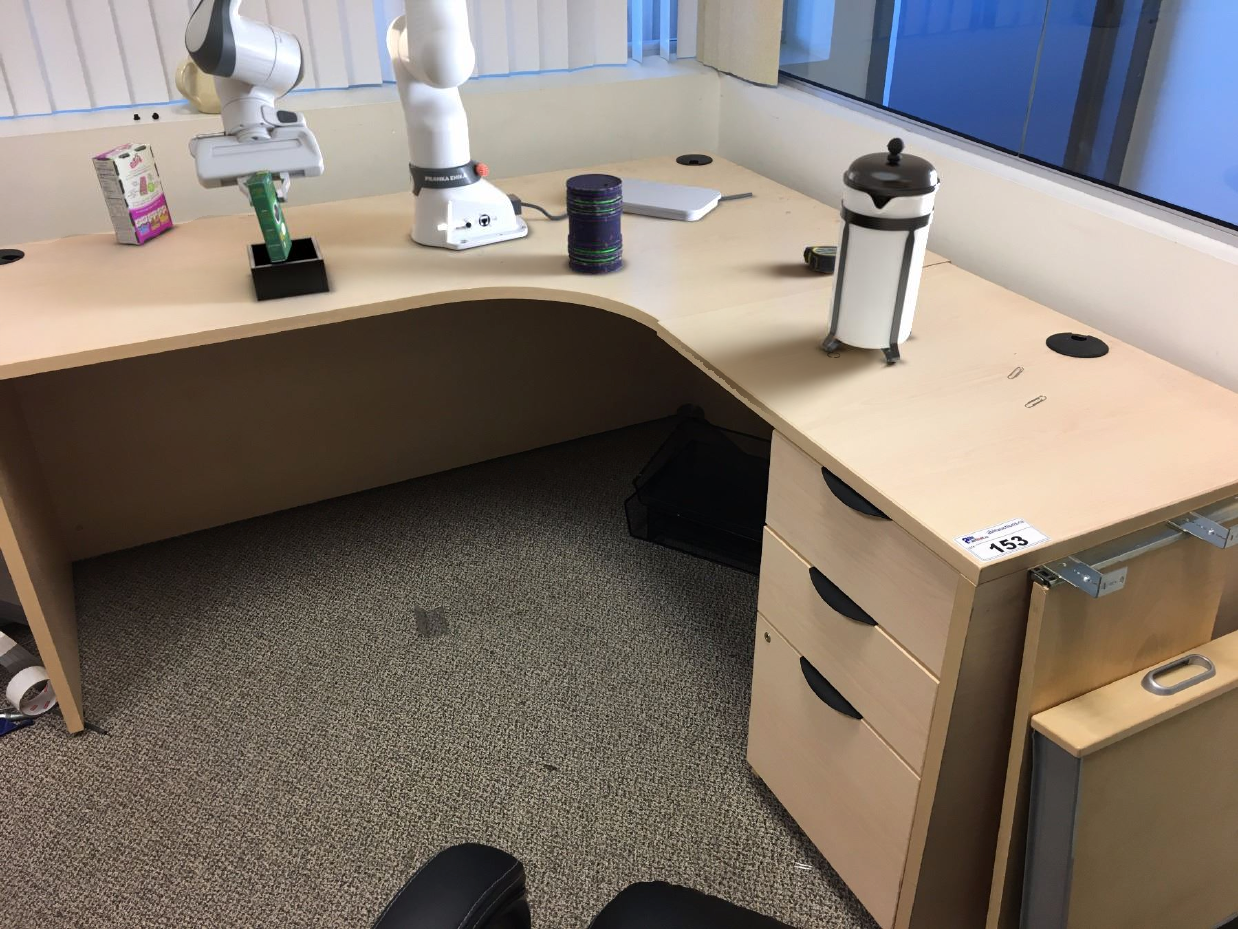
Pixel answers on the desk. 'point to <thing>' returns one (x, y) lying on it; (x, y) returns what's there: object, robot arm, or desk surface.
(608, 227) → the storage jar
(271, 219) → the coffee box
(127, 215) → the candy bar box
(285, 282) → the desk tray
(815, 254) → the tape measure
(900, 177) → the coffee press
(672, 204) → the tablet
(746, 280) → the desk surface
